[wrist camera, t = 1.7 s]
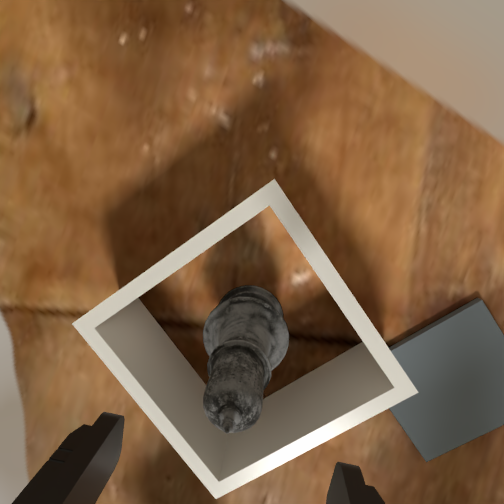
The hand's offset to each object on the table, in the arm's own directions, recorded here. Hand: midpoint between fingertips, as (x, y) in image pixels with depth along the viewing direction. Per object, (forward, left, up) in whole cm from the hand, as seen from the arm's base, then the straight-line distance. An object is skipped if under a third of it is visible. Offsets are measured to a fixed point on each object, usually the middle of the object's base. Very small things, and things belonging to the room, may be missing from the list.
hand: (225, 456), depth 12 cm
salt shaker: (0, 0, -14) cm, 14 cm away
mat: (-13, -10, -13) cm, 21 cm away
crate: (0, 0, -13) cm, 13 cm away
